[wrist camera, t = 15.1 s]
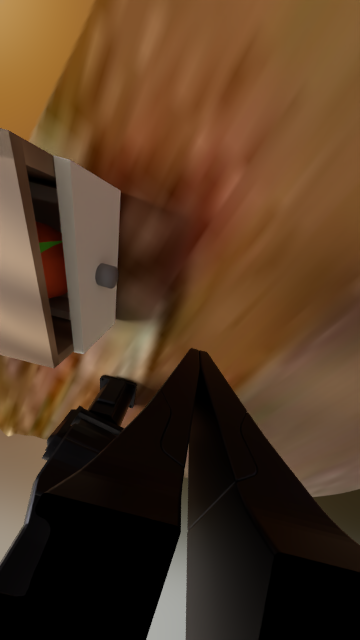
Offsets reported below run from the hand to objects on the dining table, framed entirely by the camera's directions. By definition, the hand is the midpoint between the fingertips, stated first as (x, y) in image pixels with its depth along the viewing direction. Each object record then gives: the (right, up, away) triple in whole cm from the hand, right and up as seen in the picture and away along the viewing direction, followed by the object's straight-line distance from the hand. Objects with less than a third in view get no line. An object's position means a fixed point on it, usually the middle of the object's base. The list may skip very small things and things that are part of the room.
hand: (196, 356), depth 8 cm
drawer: (-14, +9, +11) cm, 20 cm away
